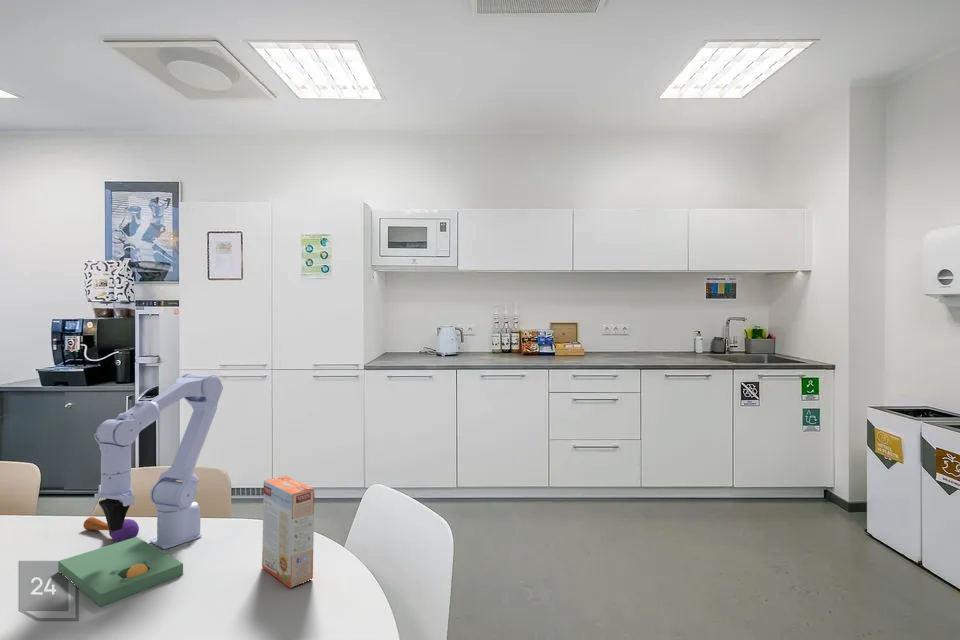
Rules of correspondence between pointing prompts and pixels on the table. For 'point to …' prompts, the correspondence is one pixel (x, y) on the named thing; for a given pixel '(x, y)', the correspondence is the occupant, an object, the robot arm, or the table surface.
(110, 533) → the kendama
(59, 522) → the table surface
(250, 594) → the table surface
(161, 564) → the putting mat
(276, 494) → the cracker box
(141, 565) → the ball
